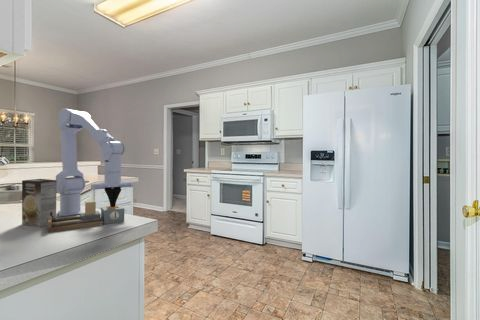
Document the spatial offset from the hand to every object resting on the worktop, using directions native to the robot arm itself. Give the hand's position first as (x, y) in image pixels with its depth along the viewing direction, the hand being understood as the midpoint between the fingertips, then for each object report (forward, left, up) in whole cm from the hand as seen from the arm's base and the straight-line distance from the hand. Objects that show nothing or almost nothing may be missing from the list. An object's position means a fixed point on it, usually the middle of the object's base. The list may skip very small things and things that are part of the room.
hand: (112, 206), depth 97 cm
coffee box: (-10, -23, -6) cm, 25 cm away
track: (0, -12, -5) cm, 13 cm away
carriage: (0, -8, -4) cm, 8 cm away
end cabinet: (0, 0, -5) cm, 5 cm away
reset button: (0, 0, -4) cm, 4 cm away
